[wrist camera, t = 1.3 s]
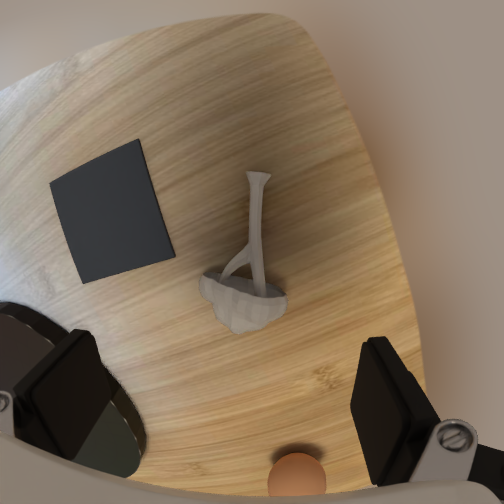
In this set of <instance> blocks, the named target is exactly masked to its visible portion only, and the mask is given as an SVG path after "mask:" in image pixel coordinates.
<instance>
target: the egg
mask: <svg viewBox="0 0 504 504" xmlns="http://www.w3.org/2000/svg"><path fill="white" fill-rule="evenodd" d="M325 491H326V475H325V471H324V469H323V467H322V466H321V464H320V463H319V462H318V461H317V460H316V459H314V458H313V457H312V456H310V455H308V454H304V453H291V454H288V455H286V456H284V457H282V458H281V459H279V460H278V461H277V462H276V463H275V465H274V466H273V467H272V469H271V471H270V473H269V477H268V493H269V496H303V495H318V494H325Z"/></svg>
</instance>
